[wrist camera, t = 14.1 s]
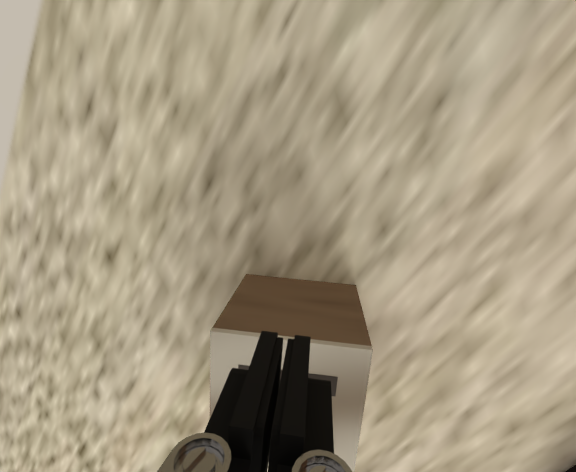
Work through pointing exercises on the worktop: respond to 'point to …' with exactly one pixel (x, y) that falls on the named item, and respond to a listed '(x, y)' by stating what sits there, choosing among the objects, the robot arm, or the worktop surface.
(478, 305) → the worktop surface
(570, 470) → the salad plate
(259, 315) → the letter block
